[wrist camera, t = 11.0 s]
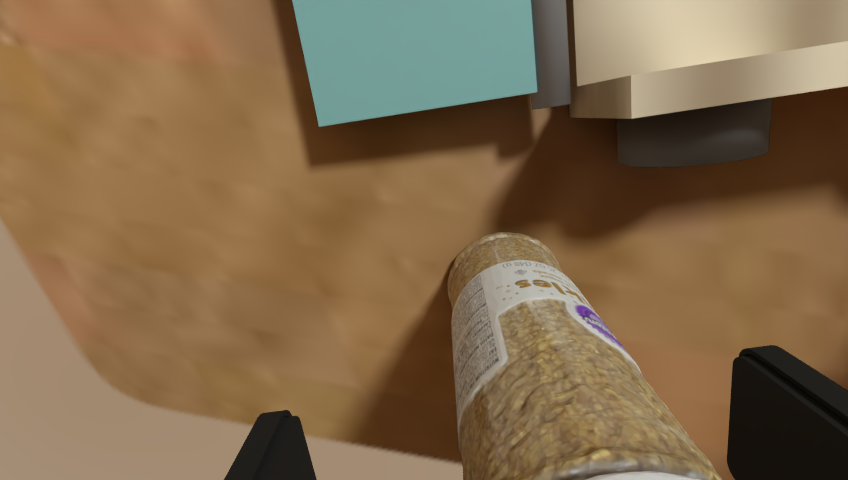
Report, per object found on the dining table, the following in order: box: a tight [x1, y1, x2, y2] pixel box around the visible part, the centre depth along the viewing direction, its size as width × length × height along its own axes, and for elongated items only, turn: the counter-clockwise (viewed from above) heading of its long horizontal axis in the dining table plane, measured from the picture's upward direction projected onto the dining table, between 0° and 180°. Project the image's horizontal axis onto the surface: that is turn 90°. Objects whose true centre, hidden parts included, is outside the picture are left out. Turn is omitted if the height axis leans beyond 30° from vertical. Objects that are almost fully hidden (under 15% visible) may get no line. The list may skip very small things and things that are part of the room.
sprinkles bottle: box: [448, 232, 722, 480], centre depth 11 cm, size 5×5×13 cm
